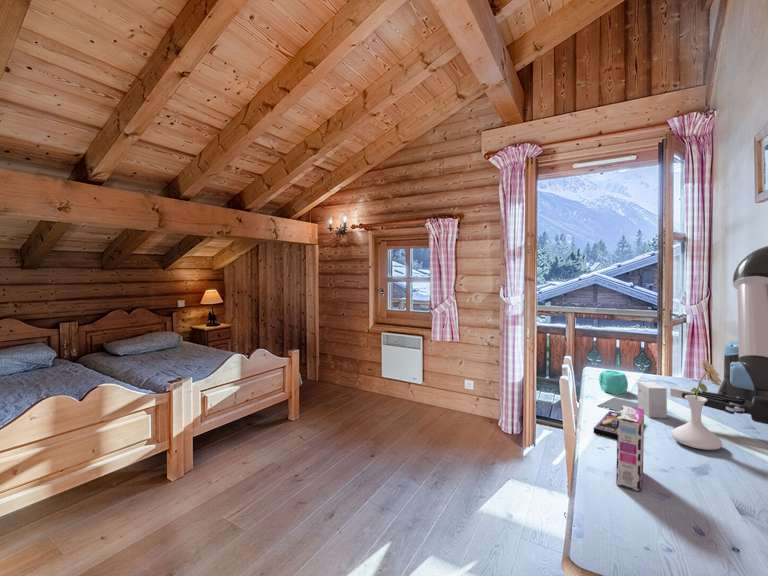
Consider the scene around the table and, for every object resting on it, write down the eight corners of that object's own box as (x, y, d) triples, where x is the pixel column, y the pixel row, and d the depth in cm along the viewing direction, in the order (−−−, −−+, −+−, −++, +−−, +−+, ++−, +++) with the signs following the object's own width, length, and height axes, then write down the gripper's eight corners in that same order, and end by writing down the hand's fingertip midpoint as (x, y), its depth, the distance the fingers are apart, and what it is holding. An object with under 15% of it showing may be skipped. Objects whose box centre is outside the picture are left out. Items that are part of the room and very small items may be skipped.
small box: (667, 418, 122) (667, 388, 122) (648, 417, 124) (648, 387, 123) (654, 410, 130) (654, 381, 130) (637, 409, 131) (637, 381, 131)
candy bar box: (641, 493, 82) (641, 423, 81) (615, 485, 85) (615, 418, 84) (644, 471, 90) (644, 408, 90) (621, 465, 94) (621, 404, 93)
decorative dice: (606, 394, 148) (606, 375, 148) (598, 388, 156) (598, 370, 156) (628, 394, 147) (628, 375, 147) (618, 388, 155) (618, 370, 155)
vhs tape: (593, 427, 113) (609, 410, 126) (593, 434, 113) (609, 417, 126) (630, 437, 106) (642, 418, 119) (630, 444, 106) (642, 424, 119)
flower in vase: (703, 456, 97) (704, 366, 96) (661, 438, 108) (661, 357, 107) (737, 449, 100) (737, 362, 100) (692, 432, 111) (692, 353, 111)
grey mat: (614, 398, 143) (614, 397, 143) (643, 405, 135) (643, 404, 135) (597, 406, 135) (597, 405, 135) (627, 414, 127) (627, 413, 127)
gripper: (767, 431, 99) (664, 406, 118) (776, 419, 107) (677, 398, 126) (768, 404, 99) (664, 384, 118) (776, 394, 106) (677, 377, 125)
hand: (671, 391), depth 122 cm, fingers closed
